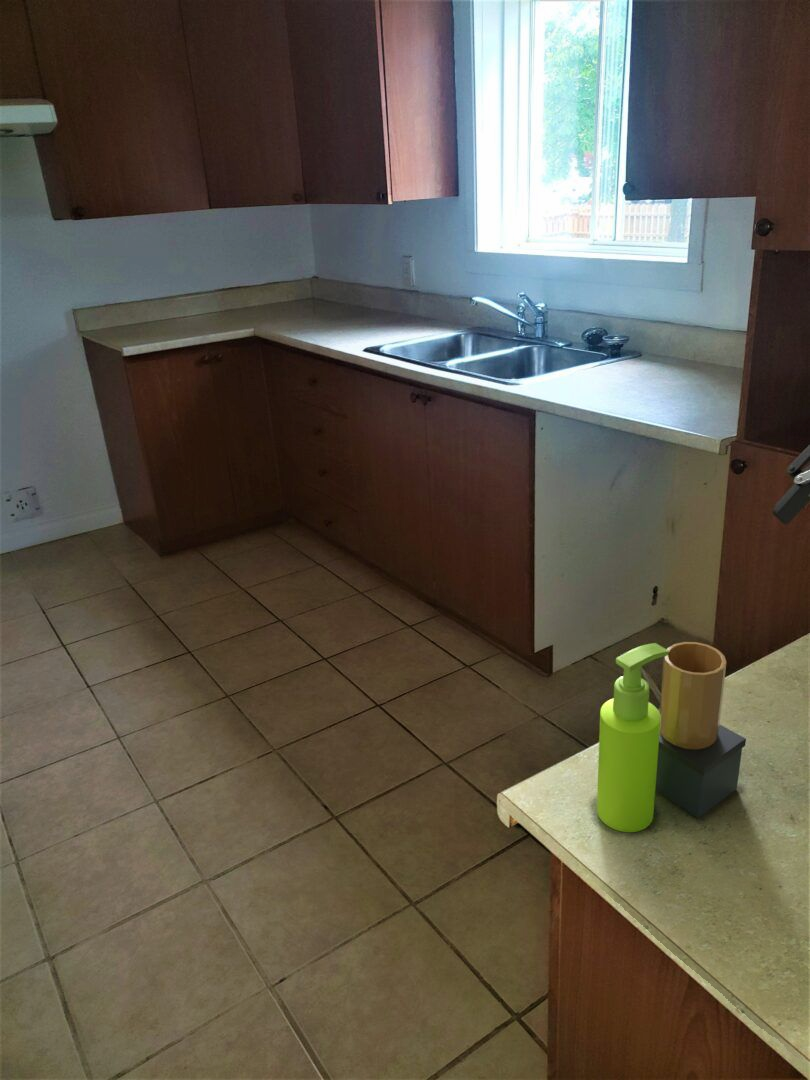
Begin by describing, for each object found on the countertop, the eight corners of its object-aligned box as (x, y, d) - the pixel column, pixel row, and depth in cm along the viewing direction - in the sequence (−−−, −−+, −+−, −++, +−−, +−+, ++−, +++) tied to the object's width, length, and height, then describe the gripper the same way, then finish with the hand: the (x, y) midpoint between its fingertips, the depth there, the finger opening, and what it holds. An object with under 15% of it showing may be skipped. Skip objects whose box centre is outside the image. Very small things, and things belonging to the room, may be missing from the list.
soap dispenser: (672, 813, 87) (686, 656, 78) (623, 840, 84) (632, 681, 76) (632, 781, 92) (641, 630, 83) (585, 806, 89) (589, 652, 80)
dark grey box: (739, 789, 89) (746, 738, 86) (698, 820, 86) (704, 769, 83) (670, 747, 96) (674, 698, 93) (629, 774, 93) (632, 725, 90)
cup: (729, 733, 87) (738, 658, 83) (694, 757, 84) (701, 682, 80) (682, 706, 92) (688, 635, 88) (647, 729, 89) (652, 656, 85)
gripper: (850, 368, 84) (741, 490, 86) (973, 402, 71) (841, 544, 73) (884, 411, 87) (779, 527, 89) (1007, 450, 74) (880, 584, 77)
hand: (807, 535), depth 81 cm, fingers open, 8 cm apart
